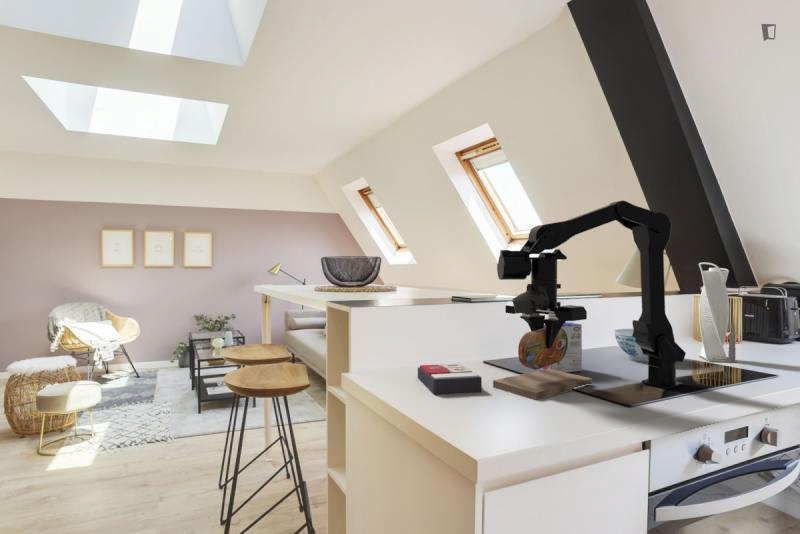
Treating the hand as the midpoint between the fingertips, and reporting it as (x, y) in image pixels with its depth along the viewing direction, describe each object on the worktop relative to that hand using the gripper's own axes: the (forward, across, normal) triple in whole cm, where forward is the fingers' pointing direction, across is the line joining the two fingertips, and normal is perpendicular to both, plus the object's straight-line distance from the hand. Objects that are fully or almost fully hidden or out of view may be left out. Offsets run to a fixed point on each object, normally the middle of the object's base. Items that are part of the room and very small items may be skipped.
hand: (543, 347), depth 112 cm
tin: (+4, 0, 0) cm, 4 cm away
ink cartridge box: (+9, -7, +16) cm, 20 cm away
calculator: (+9, -14, -17) cm, 24 cm away
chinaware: (+9, -2, +47) cm, 48 cm away
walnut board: (+9, 0, 0) cm, 9 cm away
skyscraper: (+9, +10, +64) cm, 65 cm away
